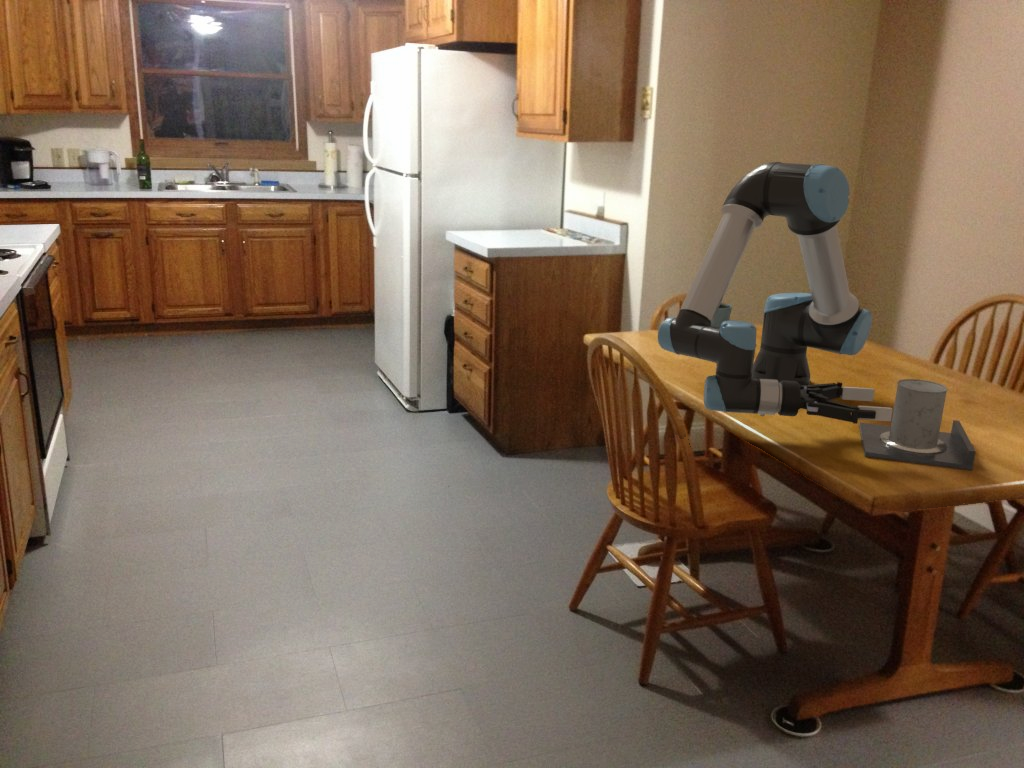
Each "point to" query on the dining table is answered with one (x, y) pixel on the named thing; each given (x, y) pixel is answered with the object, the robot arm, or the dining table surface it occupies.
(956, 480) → the dining table surface
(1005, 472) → the dining table surface
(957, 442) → the plate
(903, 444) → the speckled tin can
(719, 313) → the blue grey cup
